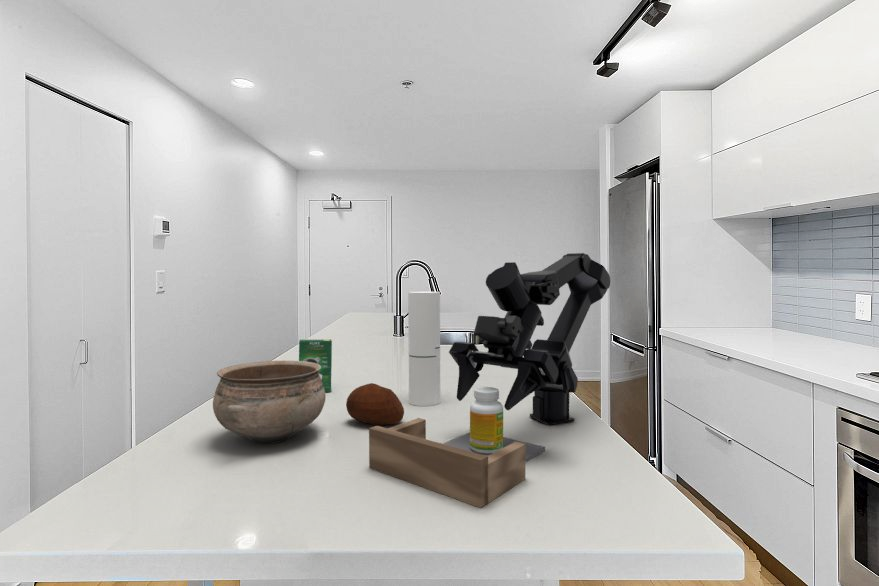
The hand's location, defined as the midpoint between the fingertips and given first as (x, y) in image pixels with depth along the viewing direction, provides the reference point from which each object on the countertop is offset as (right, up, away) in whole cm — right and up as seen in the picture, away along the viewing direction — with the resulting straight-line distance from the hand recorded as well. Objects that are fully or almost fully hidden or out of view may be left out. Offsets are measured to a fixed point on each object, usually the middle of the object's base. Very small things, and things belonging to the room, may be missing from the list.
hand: (481, 403), depth 78 cm
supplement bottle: (+1, -8, +1) cm, 8 cm away
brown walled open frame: (-6, -9, -7) cm, 12 cm away
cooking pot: (-37, -8, +9) cm, 39 cm away
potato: (-19, -8, +17) cm, 27 cm away
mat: (+2, -8, +2) cm, 9 cm away
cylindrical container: (-10, -7, +33) cm, 35 cm away
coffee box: (-37, -7, +43) cm, 57 cm away
